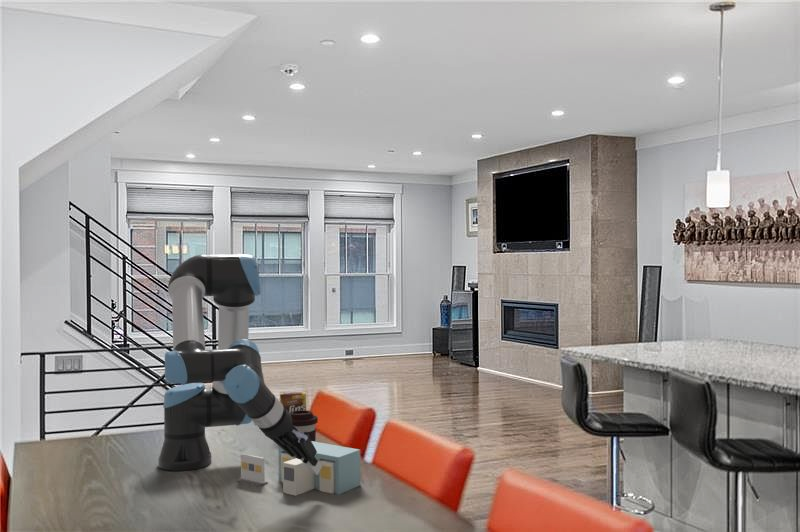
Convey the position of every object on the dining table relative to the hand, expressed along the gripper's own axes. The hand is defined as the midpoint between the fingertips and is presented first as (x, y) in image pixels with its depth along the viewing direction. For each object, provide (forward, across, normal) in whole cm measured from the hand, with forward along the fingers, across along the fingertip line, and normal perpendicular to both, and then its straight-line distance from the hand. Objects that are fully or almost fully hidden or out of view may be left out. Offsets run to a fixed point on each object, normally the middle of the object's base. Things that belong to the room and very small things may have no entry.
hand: (317, 469), depth 187 cm
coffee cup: (+20, -25, +10) cm, 33 cm away
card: (+4, -22, -6) cm, 23 cm away
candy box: (+35, -48, +26) cm, 65 cm away
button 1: (+11, -14, +1) cm, 17 cm away
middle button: (+6, -7, -3) cm, 10 cm away
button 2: (+10, 0, +1) cm, 10 cm away
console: (+11, -7, +1) cm, 13 cm away
